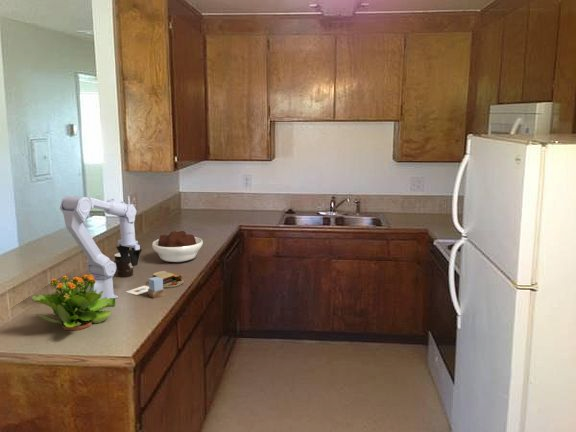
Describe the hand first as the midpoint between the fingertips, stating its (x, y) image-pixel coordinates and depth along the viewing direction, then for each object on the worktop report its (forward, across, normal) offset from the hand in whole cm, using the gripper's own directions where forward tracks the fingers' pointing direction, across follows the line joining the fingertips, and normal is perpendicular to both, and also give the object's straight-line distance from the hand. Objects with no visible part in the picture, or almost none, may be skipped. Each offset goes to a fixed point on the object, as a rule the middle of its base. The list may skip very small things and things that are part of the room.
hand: (130, 263), depth 222 cm
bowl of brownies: (+11, +23, -39) cm, 47 cm away
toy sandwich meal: (+11, -7, -13) cm, 19 cm away
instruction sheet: (+10, -6, 0) cm, 12 cm away
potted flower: (+10, -24, +36) cm, 44 cm away
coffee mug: (+11, +18, -6) cm, 22 cm away
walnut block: (+11, -17, -1) cm, 20 cm away
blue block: (+8, -17, -1) cm, 19 cm away
